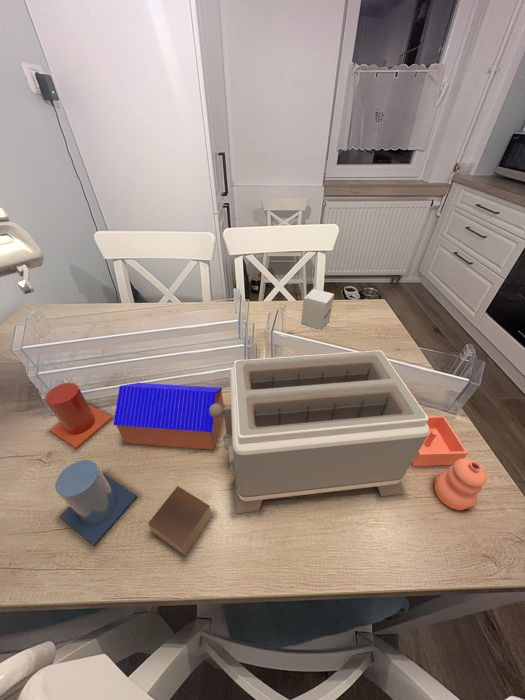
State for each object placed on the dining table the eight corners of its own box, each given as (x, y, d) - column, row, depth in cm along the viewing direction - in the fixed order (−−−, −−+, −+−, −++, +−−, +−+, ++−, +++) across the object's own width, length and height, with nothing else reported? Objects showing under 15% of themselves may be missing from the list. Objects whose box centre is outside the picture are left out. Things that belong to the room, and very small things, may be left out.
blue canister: (95, 531, 49) (71, 504, 43) (72, 512, 51) (46, 484, 45) (124, 498, 53) (106, 470, 47) (102, 483, 55) (81, 453, 49)
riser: (185, 556, 47) (181, 547, 44) (153, 533, 49) (147, 523, 47) (212, 515, 51) (209, 505, 49) (181, 496, 54) (177, 485, 51)
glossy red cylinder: (77, 439, 63) (56, 408, 57) (59, 427, 65) (38, 397, 59) (101, 419, 67) (84, 388, 61) (84, 409, 69) (66, 379, 63)
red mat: (76, 448, 62) (75, 447, 61) (50, 431, 65) (49, 430, 65) (112, 418, 68) (111, 417, 67) (86, 404, 71) (85, 402, 71)
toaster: (218, 426, 66) (208, 357, 54) (363, 413, 69) (385, 345, 57) (217, 515, 51) (203, 449, 39) (402, 494, 54) (445, 426, 42)
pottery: (395, 428, 66) (409, 399, 60) (436, 427, 66) (454, 398, 60) (435, 512, 52) (458, 485, 46) (487, 511, 52) (517, 484, 46)
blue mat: (94, 546, 48) (93, 545, 47) (60, 517, 51) (59, 516, 51) (137, 497, 54) (136, 495, 53) (104, 474, 57) (103, 473, 57)
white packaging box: (320, 338, 93) (326, 303, 85) (299, 331, 96) (303, 297, 88) (329, 327, 98) (335, 293, 90) (308, 321, 101) (312, 287, 93)
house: (215, 451, 61) (209, 415, 54) (123, 444, 62) (105, 408, 55) (225, 407, 71) (221, 371, 63) (145, 401, 72) (132, 366, 65)
